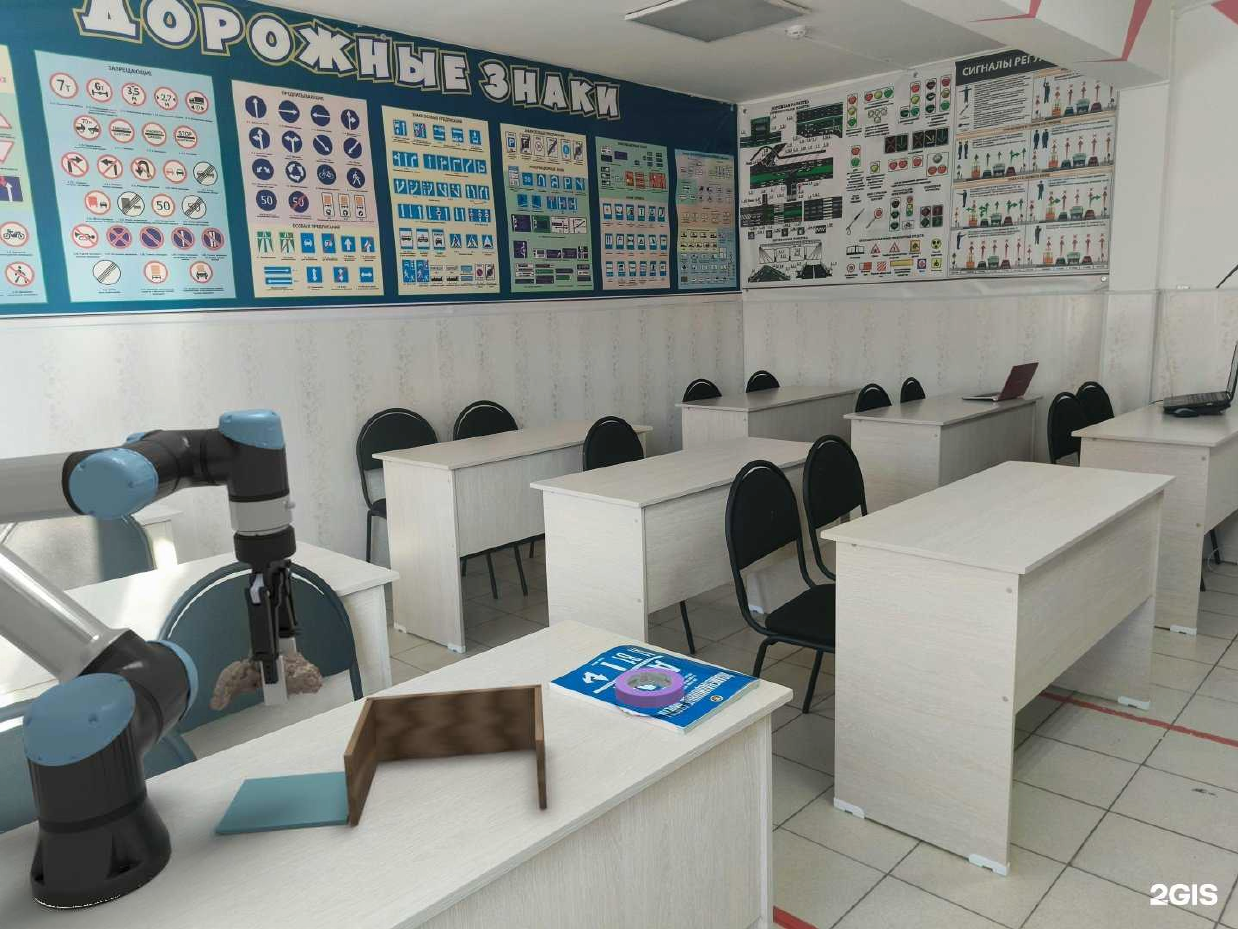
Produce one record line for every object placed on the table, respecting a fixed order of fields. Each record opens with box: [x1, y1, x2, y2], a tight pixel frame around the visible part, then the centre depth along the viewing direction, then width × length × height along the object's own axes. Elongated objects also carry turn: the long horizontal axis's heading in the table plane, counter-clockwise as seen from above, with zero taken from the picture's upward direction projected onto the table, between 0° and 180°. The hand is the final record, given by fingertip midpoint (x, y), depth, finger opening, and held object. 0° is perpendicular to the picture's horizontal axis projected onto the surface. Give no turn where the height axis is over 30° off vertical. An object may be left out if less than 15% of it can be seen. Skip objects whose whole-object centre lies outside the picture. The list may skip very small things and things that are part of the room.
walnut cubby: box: [342, 683, 548, 826], centre depth 128 cm, size 26×18×10 cm
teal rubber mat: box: [214, 770, 350, 835], centre depth 126 cm, size 17×13×1 cm
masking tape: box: [614, 667, 685, 708], centre depth 153 cm, size 12×12×4 cm
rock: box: [209, 647, 326, 711], centre depth 122 cm, size 6×14×7 cm, turn 100°
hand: (283, 693), depth 123 cm, fingers closed on rock, 6 cm apart
